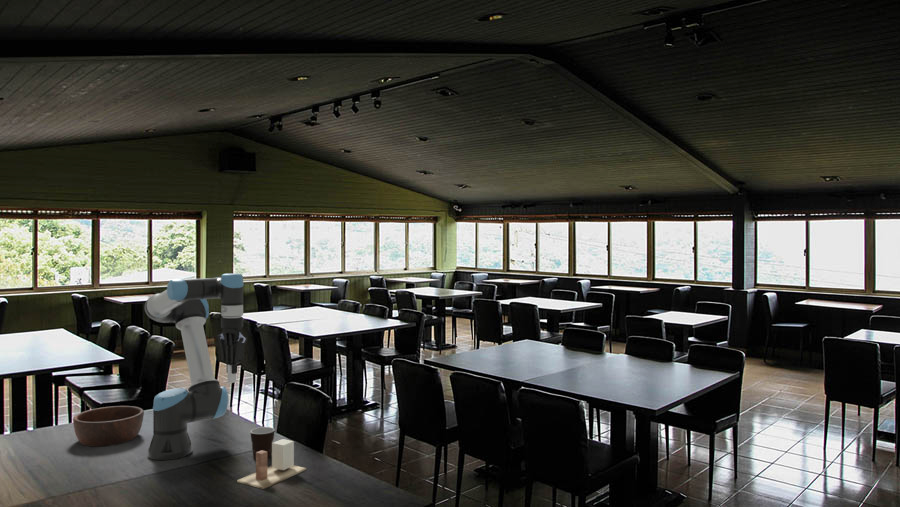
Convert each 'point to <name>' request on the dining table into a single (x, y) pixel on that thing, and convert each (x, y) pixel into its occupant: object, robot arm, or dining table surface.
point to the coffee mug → (262, 440)
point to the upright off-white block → (282, 454)
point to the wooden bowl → (108, 425)
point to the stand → (268, 473)
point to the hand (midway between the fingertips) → (231, 382)
